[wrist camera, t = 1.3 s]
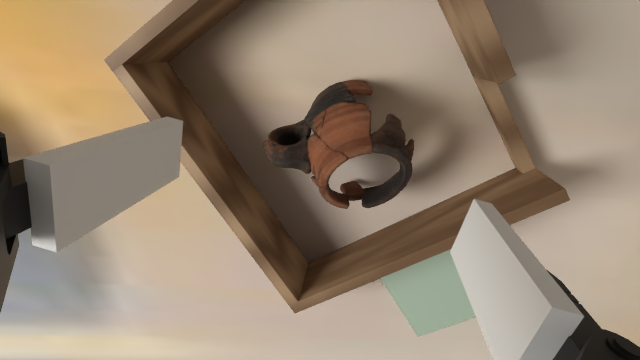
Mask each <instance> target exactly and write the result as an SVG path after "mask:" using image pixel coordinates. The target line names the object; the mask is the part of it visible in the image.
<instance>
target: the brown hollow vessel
mask: <svg viewBox="0 0 640 360" xmlns="http://www.w3.org/2000/svg"><path fill="white" fill-rule="evenodd" d="M354 94H362V95H371V94H372V88H371V87H370V86H369V85H368V84H367V83H366V82H364V81H359V80H349V81H344V82H339V83H336V84H334V85H332V86H329V87H328V88H326V89H325V90H324V91H322V92H321V93H320V94H319V95H318V96H317V97H316V99H315V101H314V102H313V104H312V106H311V109H310V110H309V112H308V114H307V116H306V117H305V119H304V120H302V121H300V122H299V123H296V124H293V125H289V126H284V127H280V128H277V129H275V130H274V131H272V132H271V133H270V134H269V135H268V137H267V139H266V141H265V142H264V149H265V151H266V156H267V158H268V159H269V160H270V161H271V162H272V163H273V164H275V165H276V166H279V167H283V168H295V169H300V170H302V171H303V172H304V173H306V174H309V173H310V172H311V170H312V173H313V174H314V175H315V176H312V177H311V178H312V180H313V182H314V183H315V184H316V185H317V186H318V187H319V191H320V193H321V195H322V196H323V198H324V199H325V200H326V201H327V202H329V203H330V204H332V205H334V206H336V207H339V208H345V209H347V208H348V207H349V200H350V201H355V200H362V206H363V207H365V208H371V207H375V206H378V205H380V204H383V203H385V202H387V201H389V200H391V199H392V198H394V197H395V196H396V195H397V194H398V193H399V192H400V191H401V190H403V188H404V187H405V186H406V185H407V183H408V181H409V180H410V178H411V175H412V163H411V160H412V156H413V151H414V140H413V139H411V140H409V142H408V144H407V145H406V146H405V141H406V139H405V133H404V131H403V130H402V127H401V121H400V120H399V119H398V118H397V117H395V116H394V115H393V114H388V115H387V117H386V123H385V124H383V126H382V127H381V128H380V129H379V130H378V131H376V132H374V133H373V134H370V130H371V126H370V123H371V110H369V108H368V107H367V106H366V105H365V104H359V103H355V99H354V98H353V97H352V96H351V95H354ZM311 129H312V130H313V132H314V134H313V135H311V136H310V134H311ZM372 152H373V153H381V154H387V155H390V156H392V157H394V158H395V159H397V160H398V161H399V163H400V170H399V172H397V173H396V174H395V175H394V176H393V177H392V178H391V179H390V180H388V181H387V182H385V183H384V184H382V185H379V186H375V187H370V188H364V189H363V188H362V187H361V186H360V185H359V184H358V183H357V182H355V181H351V182H347V183H344V184H342V185H341V187H340V190H341V191H342V192H343V194H341V193H337V192H335V191H333V190H331V189H330V187H329V184H328V181H329V178H330V176H331V174H332V173H333V172H334V170H335V169H336V168H337V167H339V166H340V165H341V164H342V163H344V162H345V161H347V160H348V159H351V158H354V157H356V156H360V155H363V154H369V153H372Z"/></svg>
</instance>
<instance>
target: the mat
mask: <svg viewBox="0 0 640 360" xmlns="http://www.w3.org/2000/svg"><path fill="white" fill-rule="evenodd" d="M450 251H451V249H450V250H448V251H445V252H443V253H440V254H438V255H435V256H433V257H431V258H428V259H426V260H423V261H421V262H418V263H416V264H414V265H411V266H409V267H406V268H404V269H401V270H399V271H397V272H394V273H392V274H389V275H387V276H384V277H382V278H380V279H381V280H382V282H383V283H384V285H385V287H386V288H387V290H388V291H389V293H390V294H391V296H392V297H393V299H394V300H395V302H396V304H397V305H398V307H399V308H400V310H401V311H402V313H403V314H404V316H405V317H406V319H407V321H408V322H409V324H410V325H411V327H412V328H413V330H414V331H415V333H416V334H417V336H418V337H419V336H422V335H425V334H427V333H430V332H433V331H436V330H439V329H442V328H445V327H448V326H451V325H454V324H457V323H460V322H463V321H466V320H468V319H471V318H474V317H476V316H475V313H474V311H473V308H472V306H471V303H470V301H469V298H468V296H467V293H466V291H465V288H464V286H463V283H462V281H461V278H460V276H459V273H458V271H457V268H456V266H455V263H454V261H453V258H452V256H451V253H450Z"/></svg>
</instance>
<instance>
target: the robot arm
mask: <svg viewBox="0 0 640 360" xmlns="http://www.w3.org/2000/svg"><path fill="white" fill-rule="evenodd" d="M182 131H183V121H182V120H178V119H174V118H171V117H164V118H160V119H157V120H153V121H150V122H146V123H143V124H139V125H136V126H132V127H129V128H125V129H122V130H119V131H115V132H112V133H108V134H105V135H101V136H98V137H94V138H91V139H87V140H84V141H80V142H77V143H73V144H70V145H66V146H63V147H59V148H56V149H52V150H49V151H45V152H42V153H38V154H35V155H31V156H28V157H24V158H23V159H22V160H19V161H15V162H12V163H9V162H8V155H7V147H6V139H5V134H3V133H1V132H0V312H1V308H2V305H3V301H4V298H5V294H6V290H7V287H8V283H9V280H10V276H11V272H12V269H13V265H14V262H15V258H16V254H17V251H18V247H19V241H18V233H21V232H23V231H25V230H27V229H29V228H31V235H32V245H34V246H37V247H41V248H44V249H47V250H51V251H54V252H58V251H59V250H61V249H63V248H64V247H66V246H68V245H69V244H71V243H72V242H74V241H76V240H77V239H79V238H81V237H82V236H84V235H85V234H87V233H89V232H90V231H92V230H94V229H95V228H97V227H98V226H100V225H102V224H103V223H105V222H106V221H108V220H110V219H111V218H113V217H115V216H116V215H118V214H119V213H121V212H123V211H124V210H126V209H128V208H129V207H131V206H132V205H134V204H136V203H137V202H139V201H141V200H142V199H144V198H145V197H147V196H149V195H150V194H152V193H154V192H155V191H157V190H158V189H160V188H162V187H163V186H165V185H166V184H168V183H170V182H171V181H173V180H175V179H176V178H178V177H179V170H180V157H181V144H182ZM450 253H451V256H452V258H453V261H454V263H455V266H456V268H457V271H458V273H459V276H460V278H461V281H462V283H463V286H464V288H465V291H466V293H467V296H468V298H469V301H470V303H471V306H472V308H473V311H474V313H475V316H476V318H477V321H478V323H479V326H480V328H481V331H482V333H483V336H484V338H485V341H486V343H487V346H488V348H489V351H490V353H491V356H492V358H493V360H640V347H638V346H637V345H635V344H634V343H632V342H631V341H629V340H628V339H626V338H624V337H622V336H620V335H618V334H616V333H613V332H610V331H608V330H603V329H601V328H600V326H599V325H598V324H597V323H596V322H595V321H594V319H593V318H592V317H591V316H590V315H589V313H588V312H587V311H586V310H585V309H584V308H583V306H582V305H581V304H579V302H578V300H577V299H576V298H575V297H574V296H573V295H572V294H571V292H570V291H569V290H568V289H567V287H566V286H565V285H564V284H563V283H562V282H561V281H560V280H559V279H558V278H556V277H555V276H554V275H553V274H551V273H550V272H549V271H548V270H546V269H545V268H544V267H543V265H542V264H541V263H540V262H539V261H538V259H537V258H536V257H535V256H534V254H533V253H532V252H531V251H530V250H529V248H528V247H527V246H526V245H525V243H524V242H523V241H522V240H521V239H520V237H519V236H518V235H517V234H516V233H515V231H514V230H513V229H512V228H511V226H510V225H509V224H508V223H507V222H506V220H505V219H504V218H503V217H502V215H501V214H500V213H499V212H498V211H497V209H496V208H495V207H494V206H493V204H492V203H488V202H484V201H481V200H477V199H474V200H473V202H472V204H471V206H470V208H469V211H468V213H467V215H466V217H465V220H464V222H463V224H462V226H461V229H460V231H459V233H458V235H457V238H456V240H455V242H454V244H453V247H452V249H451V251H450Z"/></svg>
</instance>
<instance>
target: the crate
mask: <svg viewBox="0 0 640 360" xmlns="http://www.w3.org/2000/svg"><path fill="white" fill-rule="evenodd" d="M244 1H245V0H173V1H172V2H170V3H169V4H168V5H167V6H166V7H165V8H163V9H162V10H161V11H160V12H159V13H158V14H156V15H155V16H154V17H153V18H152V19H151V20H150V21H148V22H147V23H146V24H145V25H144V26H143V27H141V28H140V29H139V30H138V31H137V32H136V33H134V34H133V35H132V36H131V37H130V38H129V39H127V40H126V41H125V42H124V43H123V44H122V45H121V46H119V47H118V48H117V49H116V50H115V51H114V52H112V53H111V54H110V55H109V56H108V57H107V58H105V59H104V61H105V62H106V63H107V65H108V66H109V67H110V69H111V70H112V71H113V73H114V74H115V75H116V77H117V78H118V79H119V81H120V82H121V83H122V85H123V86H124V87H125V89H126V90H127V91H128V93H129V94H130V95H131V97H132V98H133V99H134V100H135V102H136V103H137V104H138V106H139V107H140V108H141V110H142V111H143V112H144V114H145V115H146V116H147V118H148V119H149V120H150V121H153V120H157V119H160V118H164V117H171V118H174V119H178V120H182V121H183V131H182V144H181V157H180V162H181V163H182V164H183V166H184V167H185V168H186V169H187V171H188V172H189V173H190V175H191V176H192V177H193V179H194V180H195V181H196V183H197V184H198V185H199V187H200V188H201V189H202V191H203V192H204V193H205V195H206V196H207V197H208V199H209V200H210V201H211V203H212V204H213V205H214V207H215V208H216V209H217V211H218V212H219V213H220V215H221V216H222V217H223V219H224V220H225V221H226V223H227V224H228V225H229V227H230V228H231V229H232V231H233V232H234V233H235V235H236V236H237V237H238V239H239V240H240V241H241V242H242V244H243V245H244V246H245V248H246V249H247V250H248V252H249V253H250V254H251V256H252V257H253V258H254V260H255V261H256V262H257V264H258V265H259V266H260V268H261V269H262V270H263V272H264V273H265V274H266V276H267V277H268V278H269V280H270V281H271V282H272V284H273V285H274V286H275V288H276V289H277V290H278V292H279V293H280V294H281V296H282V297H283V298H284V300H285V301H286V302H287V304H288V305H289V306H290V308H291V309H292V310H293V312H294V313H297V312H299V311H302V310H304V309H307V308H309V307H312V306H314V305H316V304H319V303H321V302H324V301H326V300H329V299H331V298H333V297H336V296H338V295H341V294H343V293H346V292H348V291H350V290H353V289H355V288H358V287H360V286H363V285H365V284H367V283H370V282H372V281H375V280H377V279H380V278H382V277H384V276H387V275H389V274H392V273H394V272H397V271H399V270H401V269H404V268H406V267H409V266H411V265H414V264H416V263H418V262H421V261H423V260H426V259H428V258H431V257H433V256H435V255H438V254H440V253H443V252H445V251H448V250H450V249H452V247H453V244H454V242H455V240H456V238H457V235H458V233H459V231H460V229H461V226H462V224H463V222H464V220H465V217H466V215H467V213H468V211H469V208H470V206H471V204H472V202H473V200H474V199H477V200H481V201H484V202H488V203H492V204H493V206H494V207H495V208H496V209H497V211H498V212H499V213H500V214H501V215H502V217H503V218H504V219H505V220H506V222H507V223H508V224H509V225H511V224H513V223H515V222H518V221H520V220H523V219H525V218H528V217H530V216H532V215H535V214H537V213H540V212H542V211H545V210H547V209H549V208H552V207H554V206H557V205H559V204H562V203H564V202H566V201H569V200H570V199H569V197H568V194H567V192H566V190H565V188H563V187H562V186H560V185H559V184H558V183H556V182H555V181H553V180H552V179H550V178H549V177H547V176H546V175H545V174H543V173H542V172H540V171H539V170H537V169H536V168H535V166H534V164H533V162H532V160H531V157H530V155H529V153H528V151H527V148H526V146H525V144H524V142H523V140H522V137H521V135H520V133H519V131H518V128H517V126H516V124H515V122H514V120H513V117H512V115H511V113H510V111H509V108H508V106H507V104H506V102H505V100H504V97H503V95H502V93H501V91H500V88H499V86H498V84H497V83H500V84H501V83H503V82H504V81H506V80H508V79H510V78H512V77H514V76H515V75H516V74H515V72H514V69H513V67H512V65H511V62H510V60H509V58H508V55H507V53H506V51H505V48H504V46H503V44H502V41H501V39H500V37H499V34H498V32H497V30H496V28H495V25H494V23H493V21H492V18H491V16H490V14H489V11H488V9H487V7H486V4H485V2H484V0H438V2H439V5H440V7H441V9H442V11H443V13H444V15H445V17H446V20H447V22H448V24H449V26H450V28H451V30H452V32H453V35H454V37H455V39H456V41H457V43H458V45H459V47H460V50H461V52H462V54H463V56H464V58H465V60H466V62H467V65H468V67H469V69H470V71H471V73H472V75H473V77H474V80H475V82H476V84H477V86H478V88H479V90H480V92H481V95H482V97H483V99H484V101H485V103H486V105H487V107H488V110H489V112H490V114H491V116H492V118H493V120H494V122H495V125H496V127H497V129H498V131H499V133H500V135H501V137H502V140H503V142H504V144H505V146H506V148H507V150H508V152H509V155H510V157H511V159H512V161H513V163H514V165H515V167H516V168H515V169H512V170H510V171H508V172H506V173H504V174H502V175H499V176H497V177H495V178H493V179H491V180H489V181H486V182H484V183H482V184H480V185H478V186H475V187H473V188H471V189H469V190H467V191H465V192H462V193H460V194H458V195H456V196H454V197H452V198H449V199H447V200H445V201H443V202H441V203H438V204H436V205H434V206H432V207H430V208H428V209H425V210H423V211H421V212H419V213H417V214H414V215H412V216H410V217H408V218H406V219H404V220H401V221H399V222H397V223H395V224H393V225H391V226H388V227H386V228H384V229H382V230H380V231H377V232H375V233H373V234H371V235H369V236H367V237H364V238H362V239H360V240H358V241H356V242H354V243H351V244H349V245H347V246H345V247H343V248H340V249H338V250H336V251H334V252H332V253H330V254H327V255H325V256H323V257H321V258H319V259H317V260H314V261H312V262H310V263H308V261H307V260H306V259H305V257H304V256H303V254H302V253H301V252H300V250H299V249H298V247H297V246H296V244H295V243H294V242H293V240H292V239H291V237H290V236H289V234H288V233H287V232H286V230H285V229H284V227H283V226H282V225H281V223H280V222H279V220H278V219H277V217H276V216H275V215H274V213H273V212H272V210H271V209H270V208H269V206H268V205H267V203H266V202H265V200H264V199H263V198H262V196H261V195H260V193H259V192H258V190H257V189H256V188H255V186H254V185H253V183H252V182H251V181H250V179H249V178H248V176H247V175H246V173H245V172H244V171H243V169H242V168H241V166H240V165H239V164H238V162H237V161H236V159H235V158H234V156H233V155H232V154H231V152H230V151H229V149H228V148H227V146H226V145H225V144H224V142H223V141H222V139H221V138H220V137H219V135H218V134H217V132H216V131H215V129H214V128H213V127H212V125H211V124H210V122H209V121H208V120H207V118H206V117H205V115H204V114H203V112H202V111H201V110H200V108H199V107H198V105H197V104H196V102H195V101H194V100H193V98H192V97H191V95H190V94H189V93H188V91H187V90H186V88H185V87H184V85H183V84H182V83H181V81H180V80H179V78H178V77H177V76H176V74H175V73H174V71H173V70H172V68H171V67H170V66H169V64H168V63H167V62H168V61H169V60H171V59H172V58H173V57H174V56H176V55H177V54H178V53H179V52H181V51H182V50H183V49H184V48H186V47H187V46H188V45H189V44H191V43H192V42H193V41H195V40H196V39H197V38H198V37H200V36H201V35H202V34H203V33H205V32H206V31H207V30H208V29H210V28H211V27H212V26H213V25H215V24H216V23H217V22H219V21H220V20H221V19H222V18H224V17H225V16H226V15H227V14H229V13H230V12H231V11H232V10H234V9H235V8H236V7H237V6H239V5H240V4H241V3H243V2H244Z"/></svg>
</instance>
